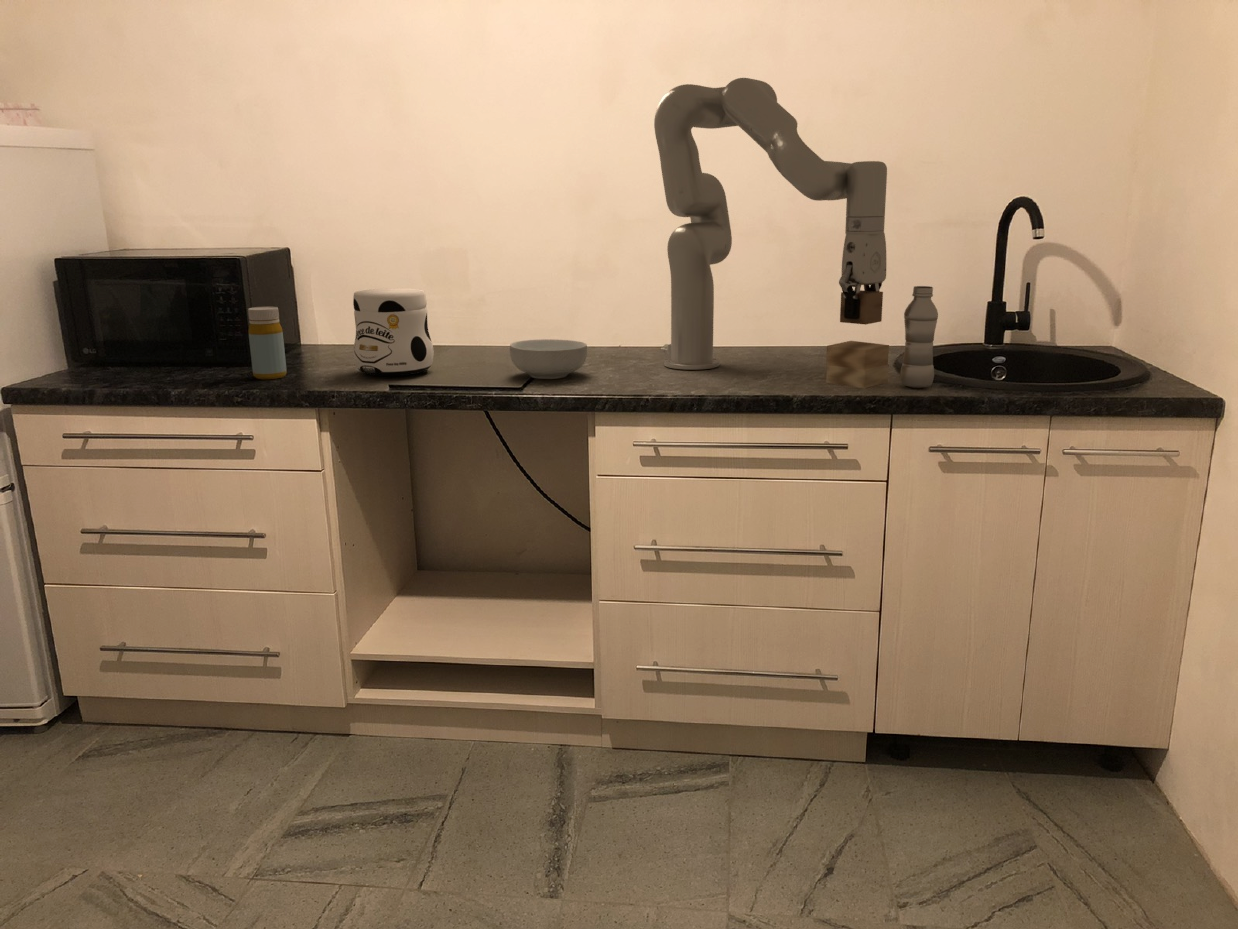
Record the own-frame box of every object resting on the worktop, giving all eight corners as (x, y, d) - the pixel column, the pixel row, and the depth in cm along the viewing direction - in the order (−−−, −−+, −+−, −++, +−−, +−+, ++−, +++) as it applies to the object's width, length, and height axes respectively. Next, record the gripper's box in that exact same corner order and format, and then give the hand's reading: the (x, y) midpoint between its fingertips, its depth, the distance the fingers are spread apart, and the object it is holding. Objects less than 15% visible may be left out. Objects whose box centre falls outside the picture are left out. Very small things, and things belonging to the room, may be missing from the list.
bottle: (293, 374, 219) (286, 306, 215) (273, 380, 213) (265, 310, 209) (267, 373, 222) (260, 305, 218) (246, 378, 215) (238, 309, 211)
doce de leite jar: (351, 382, 211) (344, 296, 206) (359, 368, 227) (352, 288, 222) (433, 379, 213) (428, 294, 208) (435, 365, 230) (431, 287, 225)
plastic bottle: (916, 391, 195) (923, 289, 189) (892, 386, 200) (898, 286, 195) (940, 388, 197) (948, 287, 192) (916, 383, 203) (923, 284, 198)
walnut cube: (839, 322, 202) (841, 292, 200) (855, 319, 206) (857, 290, 204) (865, 324, 197) (867, 294, 196) (881, 321, 202) (883, 291, 200)
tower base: (826, 384, 205) (827, 365, 204) (850, 378, 211) (851, 359, 210) (864, 389, 199) (865, 370, 198) (887, 383, 205) (888, 364, 204)
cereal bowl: (578, 384, 206) (577, 350, 204) (501, 382, 209) (499, 349, 207) (594, 370, 222) (594, 338, 220) (523, 368, 225) (521, 337, 223)
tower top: (826, 364, 204) (827, 345, 203) (850, 359, 210) (851, 340, 209) (864, 370, 198) (865, 350, 197) (887, 364, 204) (888, 344, 203)
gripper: (857, 227, 188) (853, 322, 193) (904, 224, 200) (899, 314, 205) (824, 227, 193) (821, 319, 198) (871, 224, 205) (867, 311, 210)
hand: (860, 316), depth 201 cm, fingers closed on walnut cube, 6 cm apart
